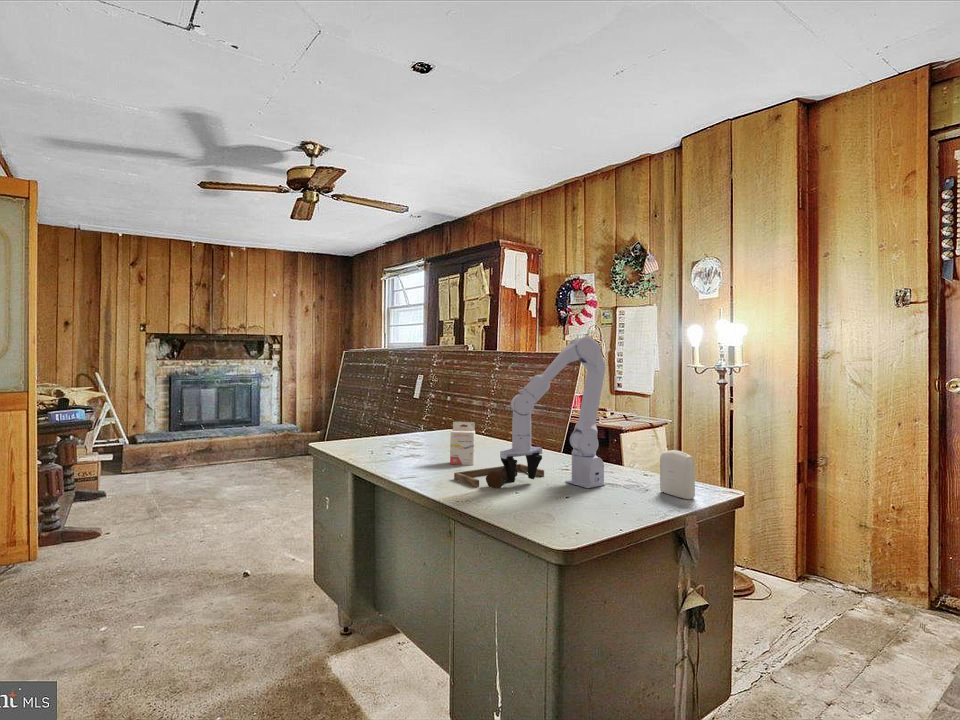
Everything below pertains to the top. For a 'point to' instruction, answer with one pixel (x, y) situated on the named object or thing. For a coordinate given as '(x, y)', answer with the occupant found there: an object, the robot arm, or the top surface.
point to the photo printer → (677, 474)
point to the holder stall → (468, 475)
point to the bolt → (497, 478)
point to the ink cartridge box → (462, 444)
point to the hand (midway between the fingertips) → (521, 480)
